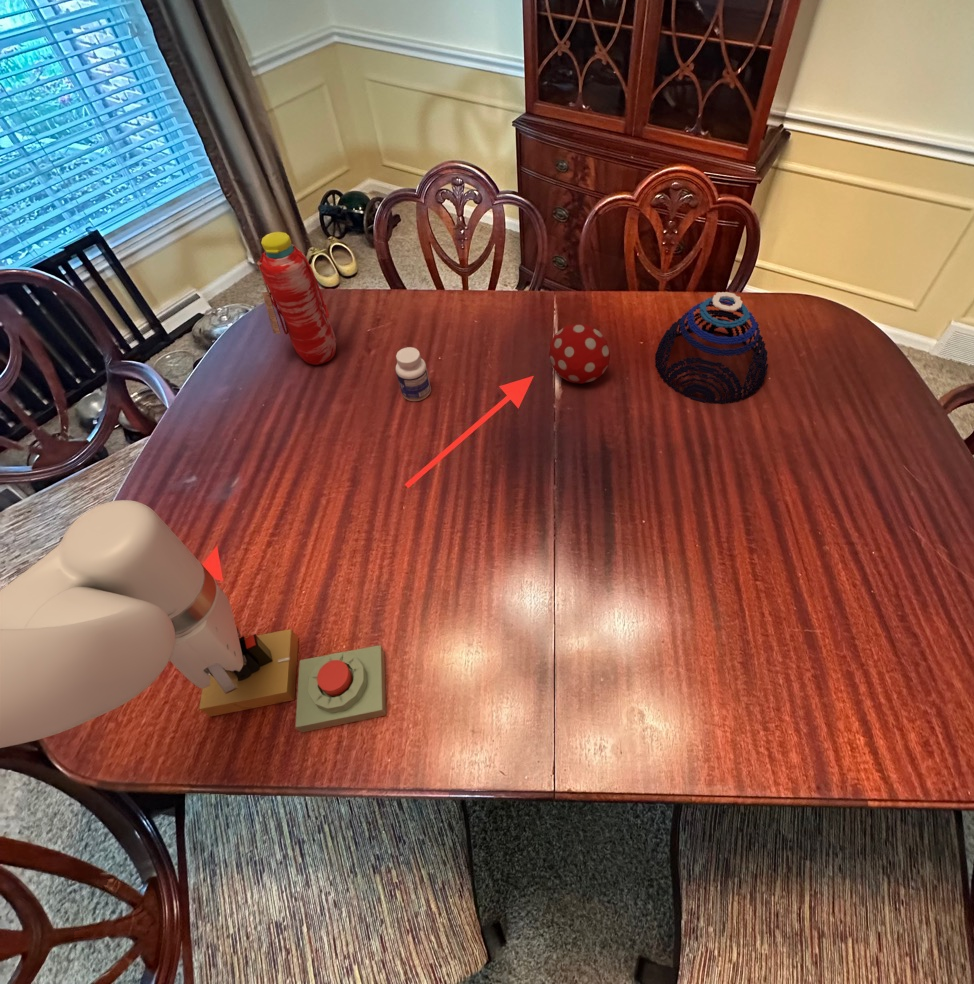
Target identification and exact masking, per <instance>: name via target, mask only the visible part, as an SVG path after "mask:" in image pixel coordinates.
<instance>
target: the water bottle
mask: <svg viewBox="0 0 974 984" xmlns="http://www.w3.org/2000/svg"><path fill="white" fill-rule="evenodd" d="M260 243H261V246H262V249H263V250H264V252H263V253H261V255H260V259H259V260H257V261H256V264H257V266H258V269H259V272H260V276H261V278H262V281H263V285H264V287H265V289H266V291H262V292H261V294H262V297H263V300H264V304H265V307H266V312H267V314H268V319H269V322H270V325H271V329H272V332H273V334H276V335H281V330H280V326H279V323H278V318H279V321H280V324H281V327H282V331H283V333H284V334H285V335H288V336H289V340H290V342H291V344H292V346H293V348H294V351H295V352H296V353H297V355H298V356H299V357H300V358H301V359H302V360H303V361H304V362H305V363H307V364H310V365H314V366H318V365H324V364H325V363H328V362H329V361H331V360H332V359H333V358H334V356H335V355H336V350H337V338H336V335H335V332H334V329H333V326H332V324H331V322H330V319H329V318H330V314H329V310H328V307H327V304H325V301H324V297H323V293H322V290H321V288H320V286H319V282H318V281H317V278H316V276H315V272H314V270H313V268H312V266H311V264H310V262H309V261H308V258H307V256H306V255H305V254H304V253H303V252H302V250H300V249H299V248H298V247H297V246H296V245H294V244H293V243H292V240H291V237H290V235H289V234H287V233H286V232H282V231H273V232H270V233H268V234H265V235H264V236H263V237H262V238H261V242H260ZM275 310H276V311H275ZM276 312H277V315H276ZM277 316H278V318H277Z"/></svg>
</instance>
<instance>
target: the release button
mask: <svg viewBox="0 0 974 984" xmlns="http://www.w3.org/2000/svg"><path fill="white" fill-rule="evenodd" d="M351 681H352V674H351V671H350V670H349V668H348V667H347V665H346V664H345V663H344V662H342V661H340V660H333V661H329V662H327V663H326V664H325V665H323V666H322V668H321V669H320V670H319V672H318V676H317V682H318V685H319V687H320V688H321V689H322V690H323V691H324V692H325V693H326V694H327V695H330V696H336V695H339V694H342V693H343V692H345V691H346V690H347V689H348V687H349V686H350V684H351Z"/></svg>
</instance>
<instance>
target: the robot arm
mask: <svg viewBox="0 0 974 984" xmlns="http://www.w3.org/2000/svg"><path fill="white" fill-rule="evenodd" d="M236 624H237V623H236V621H235V615H234V612H233V608H232V605H231V602H230V599H229V598H228V596H227V594H226V593H225V592H224V591H223V589H222V588H221V587H220V586H219V584H218V582H217V580H216V578H215V577H214V576H213V575H212V574H211V573H210V572H209V570H208V569H207V568H206V567H205V565H203V563H201V562H200V560H199V559H198V558H197V557H196V556H195V555H194V554H193V552H191V550H189V548H188V547H187V546H186V545H185V544H184V543H183V542H182V540H181V539H180V538H179V537H178V536H177V534H176V533H175V532H174V531H173V530H172V529H171V528H170V527H169V525H167V524H166V522H165V521H164V519H162V518H161V516H160V515H158V514H157V513H156V511H155V510H153V509H152V508H151V507H150V506H148V505H146V504H144V503H142V502H141V501H136V500H132V499H119V500H111V501H108V502H103V503H101V504H98V505H97V506H94V507H92V508H91V509H89V510H87V511H86V512H84V513H83V514H82V515H80V516H79V517H78V518H77V519H76V520H75V521H73V522H72V523H71V524H70V526H68V528H67V529H66V531H65V533H64V534H63V537H62V539H61V541H60V543H59V544H58V545H57V546H55V547H54V548H53V549H52V550H51V551H50V552H48V553H47V554H45V555H44V556H43V557H42V558H41V559H39V560H38V561H37V562H35V563H34V564H33V565H31V566H30V567H29V568H27V569H26V570H25V571H24V572H23V573H21V574H19V576H17V577H16V578H15V579H13V580H12V581H11V582H9V583H8V584H7V585H5V586H4V587H3V588H1V590H0V749H2V748H7V747H13V746H18V745H22V744H25V743H30V742H34V741H38V740H42V739H45V738H48V737H52V736H55V735H58V734H60V733H63V732H66V731H69V730H72V729H74V728H76V727H78V726H81V725H84V724H85V723H87V722H89V721H92V720H94V719H96V718H99V717H101V716H103V715H105V714H107V713H109V712H112V711H113V710H115V709H118V708H119V707H121V706H123V705H125V704H128V703H129V702H130V701H132V700H133V699H135V698H136V697H138V696H139V695H141V694H142V693H143V692H144V691H146V690H147V689H148V688H149V687H150V686H151V685H152V684H153V683H154V682H155V681H156V680H157V679H158V678H159V677H160V675H162V673H163V672H164V670H165V669H166V667H167V666H168V664H169V662H170V663H171V664H172V665H173V666H174V668H175V669H177V670H178V671H179V672H180V673H181V674H182V675H183V677H185V678H186V679H187V680H188V681H189V682H190V683H192V685H194V686H195V687H197V688H199V689H201V690H202V689H203V688H206V687H208V686H210V675H209V674H210V673H211V674H212V675H213V677H214V678H215V680H216V681H217V682H218V684H219V685H220V687H221V688H222V689H223V691H224V692H225V693H226V694H227V693H229V692H231V691H233V690H235V689H238V681H242V680H245V679H247V678H249V677H250V676H251V674H253V673H255V672H257V671H259V670H260V667H259V664H258V663H257V662H256V661H255V660H254V659H253V658H252V657H251V656H250V655H249V654H248V653H247V654H242V651H241V646H240V642H239V641H241V640H243V639H245V636H244V635H243V636H242V635H241V631H240V629H239V628H238V626H237V625H236Z"/></svg>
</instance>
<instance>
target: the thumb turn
mask: <svg viewBox="0 0 974 984" xmlns="http://www.w3.org/2000/svg"><path fill="white" fill-rule="evenodd" d="M257 635H258V634H255V633H254V634H252V635H250V636H246V637H247V638H245V639H243V640H241V641H239V642H240V646H241V651H242V654H247V653H248V654H249V655H250V656H251V657H252V658H253V659H254V660H255V661H256V662H257V663H258V664H259V667H261V666H264V665H266V664H268V663H270V662H272V661H273V660H272V655H271V651H270V650H269V648H268V647H267V646H266V645H265V644H264V643H263V642H262V641H261V640H260V639H259V638H258V637H257ZM210 675H211V676H213V675H212V674H211V673H210Z"/></svg>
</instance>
